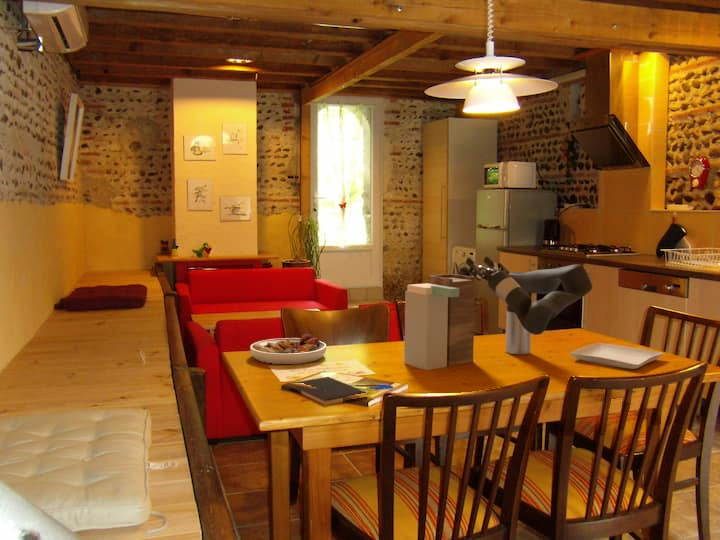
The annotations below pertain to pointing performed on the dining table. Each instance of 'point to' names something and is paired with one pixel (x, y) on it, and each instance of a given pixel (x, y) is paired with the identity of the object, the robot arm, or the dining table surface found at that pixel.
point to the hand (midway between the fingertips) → (476, 259)
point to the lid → (433, 289)
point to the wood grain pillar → (459, 317)
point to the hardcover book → (328, 390)
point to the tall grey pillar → (426, 330)
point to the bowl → (288, 350)
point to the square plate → (616, 355)
